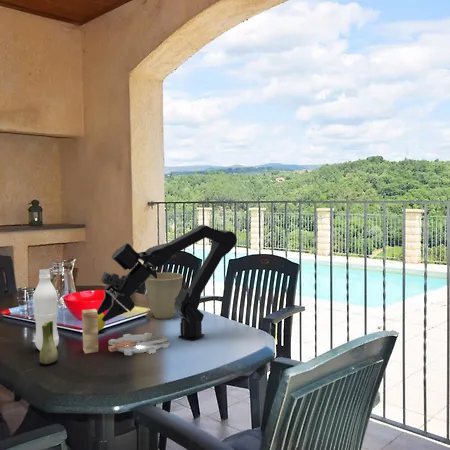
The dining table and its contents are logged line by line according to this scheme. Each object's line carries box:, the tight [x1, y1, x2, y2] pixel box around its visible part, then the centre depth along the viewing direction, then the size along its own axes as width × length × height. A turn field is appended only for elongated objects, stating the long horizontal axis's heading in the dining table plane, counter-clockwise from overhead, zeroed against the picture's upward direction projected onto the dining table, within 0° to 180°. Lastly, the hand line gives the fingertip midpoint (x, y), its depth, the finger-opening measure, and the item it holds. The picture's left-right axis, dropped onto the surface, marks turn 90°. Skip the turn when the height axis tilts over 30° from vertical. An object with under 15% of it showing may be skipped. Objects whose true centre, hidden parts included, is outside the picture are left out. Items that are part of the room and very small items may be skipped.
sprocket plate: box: [107, 332, 170, 356], centre depth 167 cm, size 19×19×1 cm
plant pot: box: [144, 272, 184, 320], centre depth 202 cm, size 15×15×16 cm
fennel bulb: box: [39, 321, 59, 365], centre depth 151 cm, size 6×5×12 cm
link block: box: [81, 308, 99, 354], centre depth 162 cm, size 4×4×12 cm
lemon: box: [96, 309, 106, 333], centre depth 182 cm, size 6×6×8 cm
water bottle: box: [32, 268, 60, 352], centre depth 163 cm, size 7×7×25 cm
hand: (100, 317), depth 163 cm, fingers open, 9 cm apart
